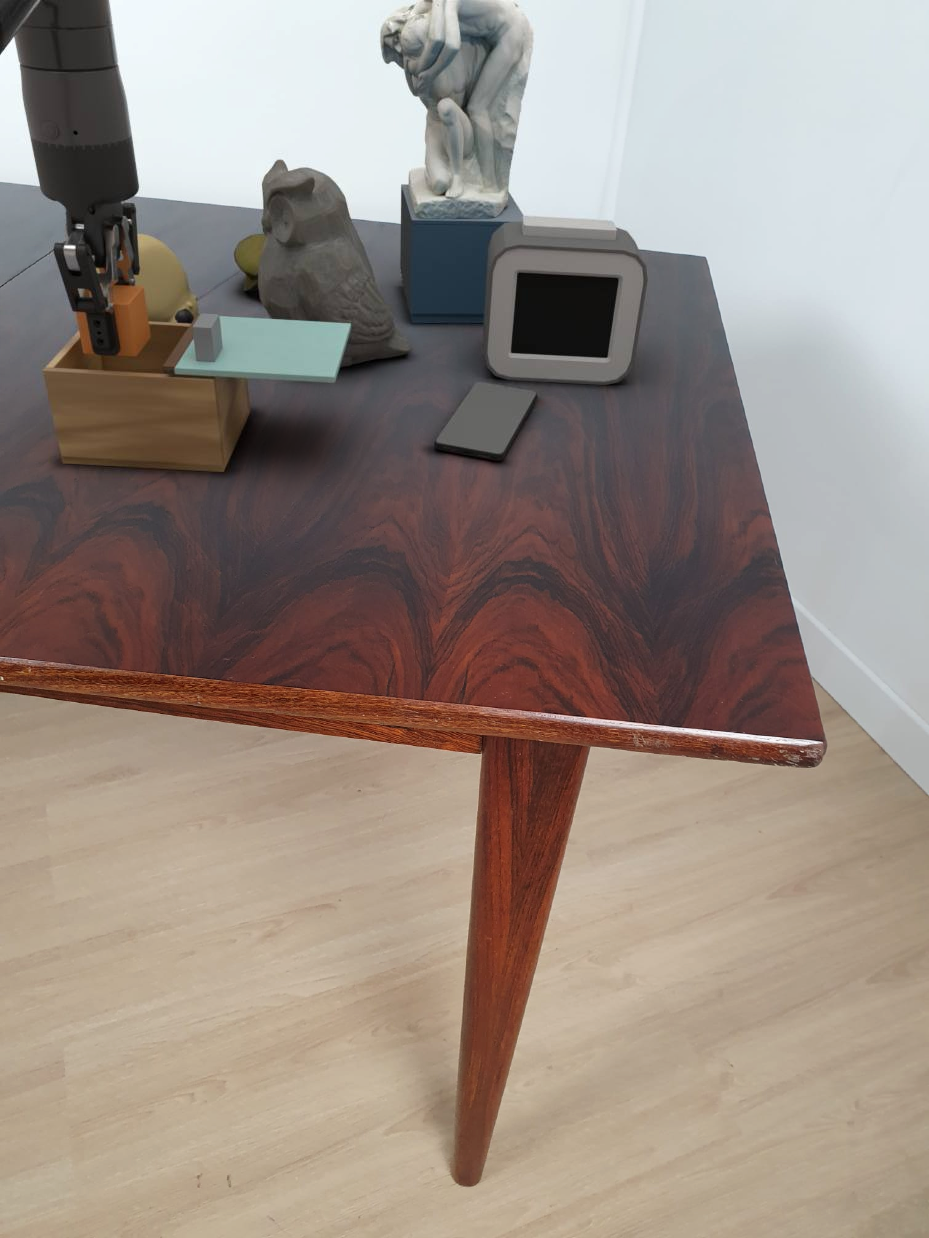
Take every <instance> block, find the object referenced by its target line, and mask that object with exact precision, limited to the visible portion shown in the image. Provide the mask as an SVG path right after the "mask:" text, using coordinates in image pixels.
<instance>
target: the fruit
mask: <svg viewBox="0 0 929 1238" xmlns="http://www.w3.org/2000/svg"><path fill="white" fill-rule="evenodd" d="M265 238H266V236H265V234H264V233H254V234H251V235H249V236H247V237H245V238H243V239H242V240H240V241H239V242H237V244H236V247H235V248H234V251H233V258H234V262H235V264H236V265H237V267H238V268H239V270H240V271H242V273H244V274H245V277H244V283H245V285H243V292H253V291H259V288H258V270H259V258H260V255H261V252H262V249H263V246H264V243H265ZM245 289H246V290H247V291H246V290H245Z"/></svg>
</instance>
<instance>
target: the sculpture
mask: <svg viewBox="0 0 929 1238" xmlns="http://www.w3.org/2000/svg"><path fill="white" fill-rule="evenodd" d="M379 33H380V34H379V37H380V38H379V39H380V40H379V43H380V50H381V51H380V52H381V57H382V60H383V62H384V64H386V65H390V64H391V63H393V62H394V63H395V64H396V65H397V66H398V67H399V68H401V69H402V70H403V72H404V77H405V80H406V84H407V87H408V89H409V91H410V93H411V95H412V96H413V97H418V98H419V100H420V101H421V103H422V105H423V106H424V107H425V109H426V111H427V112H426V116H425V121H426V122H425V130H424V142H425V155H424V166H422V167H416V168H412V169H410V170H409V171H408V184H407V183H406V184H403V183H402V184H401V185H400V249H399V251H400V255H399V257H400V258H399V259H400V260H399V261H400V263H399V270H400V269H401V272H400V275H401V274H402V276H401V283H402V287H403V292H404V297H405V300H406V304H407V308H408V313H409V317H410V321H411V324H483V321H484V306H485V290H486V275H487V259H488V246H489V243H490V240H491V237H492V234H493V233H494V232H495V231H496V230H497V229H498V228H499V227H501V226H502V225H503V224H504V223H508V222H514V221H521V222H522V217H523V216H525V215H524V214H523V211H521V209H520V207H519V205H518V204H517V202H516V201H515V199H514V197H513V196H512V194H511V193H510V191H509V190H510V189H509V186H510V175H511V168H512V162H513V156H514V152H515V151H514V150H515V145H516V142H517V141H516V140H517V136H518V129H519V124H520V116H521V112H522V102H523V101H522V100H523V99H524V96H525V89H526V87H527V84H528V83H527V82H528V79H529V72H530V67H531V61H532V54H533V49H534V29H533V26H532V25H531V22H530V21H529V19H528V17H527V16H526V14H525V13H524V11H523V10H522V7H521V6H520V5H519V4H518V3H517V2H516V1H514V0H417V2H416V3H414V4H406V5H403V6H401V7H400V8H398V9H396V10H395V11H393V12H392V13H390V15H389V16H388V17H387V18H386V20H384V21H383V23H382V25H381V28H380V32H379ZM402 279H403V280H402ZM403 284H404V285H403Z"/></svg>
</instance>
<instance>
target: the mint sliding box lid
mask: <svg viewBox="0 0 929 1238" xmlns="http://www.w3.org/2000/svg"><path fill="white" fill-rule="evenodd" d="M350 331H351V324H350V323H333V322H316V321H298V320H281V319H272V318H262V317H261V318H260V317H246V316H245V317H243V316H226V315H220V314H216V313H198V314H197V315H196V317H195V319H194V320H193V322H192V323H191V325H190V326H189V328H188V329H187V331H186V332H185V334H184V335H183V337H182V338H181V340H180V341H179V343H178V344H177V346H176V347H175V349H174V350H173V352H172V353H171V355H170V356H169V358H168V359H167V361H166V362H165V364H164V365H163V370H164V374H182V375H200V376H218V377H235V378H247V379H255V380H272V381H273V380H274V381H289V382H290V381H291V382H308V383H309V382H310V383H311V382H312V383H326V384H336V380H337V377H338V374H339V371H340V369H341V367H340V364H341V361H342V358H343V354H344V351H345V348H346V344H347V341H348V338H349V334H350Z"/></svg>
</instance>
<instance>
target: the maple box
mask: <svg viewBox="0 0 929 1238" xmlns="http://www.w3.org/2000/svg"><path fill="white" fill-rule="evenodd" d="M190 325H191V324H188V323H170V322H153V321H149V328H150V334H151V338H150V339H149V340H148V342H147V343H146V344H145V346H144V347H143V348H142V350H141V351H140V353H139V354H138V355H137V357H132V356H107V355H97V354H84V353H83V348H82V343H81V338H80V333H79V330H77V332H76V333H75V334H74V335H73V336H72V337H71V338H70V340H69V341H67V343H66V344H65V345H64V346H63V347H62V349H60V351H58V353H57V354H56V355H55V356H54V357H53V359H52V360H51V361H50V362H48V364H47V365H46V366H45V367H44V368H43V369H42V374H43V379H44V383H45V388H46V392H47V397H48V401H49V406H50V411H51V415H52V420H53V424H54V429H55V433H56V434H55V435H56V439H57V443H58V448H59V452H60V456H61V457H60V458H61V460H62V461H61V462H62V464H67V465H68V464H69V465H88V466H106V467H122V468H123V467H125V468H142V469H159V470H160V469H161V470H180V471H195V472H196V471H198V472H216V473H224V472H225V470H226V468H227V466H228V463H229V461H230V459H231V456H232V454H233V452H234V450H235V447H236V445H237V442H238V441H239V438H240V436H241V434H242V431H243V429H244V427H245V425H246V422H247V421H248V418H249V416H250V414H251V405H250V395H249V394H250V392H249V382H248V378H235V377H218V376H200V375H182V374H164V370H163V365H164V364H165V362H166V361H167V359H168V358H169V356H170V355H171V353H172V352H173V350H174V349H175V347H176V346H177V344H178V343H179V341H180V340H181V338H182V337H183V335H184V334H185V332H186V331H187V329H188V328H189V326H190Z"/></svg>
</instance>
